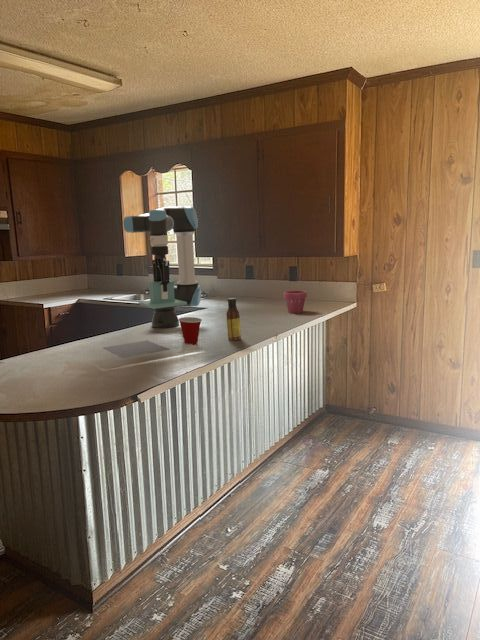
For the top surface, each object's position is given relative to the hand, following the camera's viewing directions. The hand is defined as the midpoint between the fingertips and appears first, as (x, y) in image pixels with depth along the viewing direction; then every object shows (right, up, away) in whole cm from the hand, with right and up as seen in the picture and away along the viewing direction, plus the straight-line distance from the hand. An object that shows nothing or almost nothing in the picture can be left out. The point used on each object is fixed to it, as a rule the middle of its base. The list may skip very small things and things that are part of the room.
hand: (162, 298), depth 219 cm
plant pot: (+69, -5, +88) cm, 112 cm away
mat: (-12, -23, -1) cm, 26 cm away
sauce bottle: (+32, -19, +15) cm, 40 cm away
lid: (0, -3, +1) cm, 3 cm away
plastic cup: (+12, -21, +8) cm, 26 cm away
